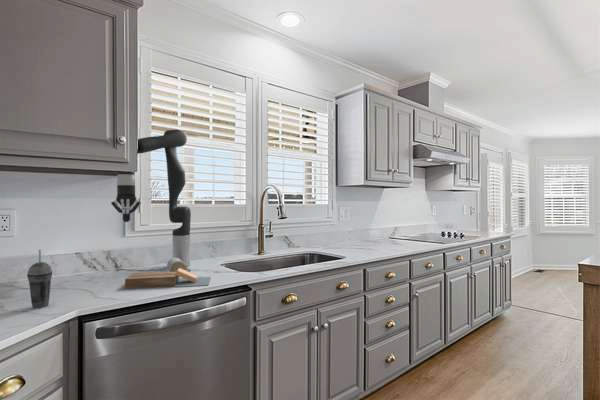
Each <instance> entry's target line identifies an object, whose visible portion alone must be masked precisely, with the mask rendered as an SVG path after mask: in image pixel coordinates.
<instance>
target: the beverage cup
mask: <svg viewBox="0 0 600 400" xmlns="http://www.w3.org/2000/svg"><path fill="white" fill-rule="evenodd" d="M41 254H42V250H41V249H38V262H35V263H34V264H32V265H31V266H30V267H29V268H28V270H27V275H26V276H27V280H28V285H29V286H28V287H29V292H30V293H29V294H30V302H31V306H32V307H33V308H38V309H43V308H42V307H44V308H47V307H49V304H50V303H49V302H50V294H51V282H52V277H53V269H52V267H51V265H50V264H48V263H47V262H44V261H43V262H42V259H41V258H42V255H41ZM46 306H47V307H46ZM32 307H31V308H32ZM33 308H32V309H33Z"/></svg>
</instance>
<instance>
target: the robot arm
mask: <svg viewBox="0 0 600 400" xmlns="http://www.w3.org/2000/svg"><path fill="white" fill-rule="evenodd" d="M137 139H138V149H137V155H138V154H144V153H145V154H146V153H149V152H153V151H156V150H161V149H164V152H165V159H166V169H167V171H166V172H167V173H166V174H167V185H168V216H169V220H170V222H171V223H172V224H181V226H180V227H178V228H176V229H173V230H172V258H179V259H180V260H181V261H183V262H184V264H185V266H186V267H189V266H190V265H191V219H192V216H191V215H192V213H191V208H190V207H189V206H186V205H185V206H180V205H179V206H178V199H179V198H180V197H179V196H180V195H181V192H182V191H183V189H184V187H185V185H186V182H187V181H186V172H185V171H186V170H185V168H184V166H183V165H182V162H181V161H180V159H179V157H178V152H177V148H179V147H183V146H185V145H186V144H187V142H188V141H187V140H188V135H187V134H186V132H185V131H183V130H181V129H167V130H165V131H164V133H163V135H155V136H147V137H142V138H137ZM116 189H117V190H116V195H117V196H116V198H115V200H113V201H111V205H112V206H113V207H114V209H115V210H116V211H117V212H118V213H121V214H122V220H123V222H124V223H129V222H130V221H131V214H132V213H134V212H135V211H137V209H138V208H139V207H140V205H141V204H142V201H139V200H138V199H137V196H136V177H135V171H134V172H118V171H117V177H116ZM119 205H120V206H119ZM132 206H133V207H132Z"/></svg>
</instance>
